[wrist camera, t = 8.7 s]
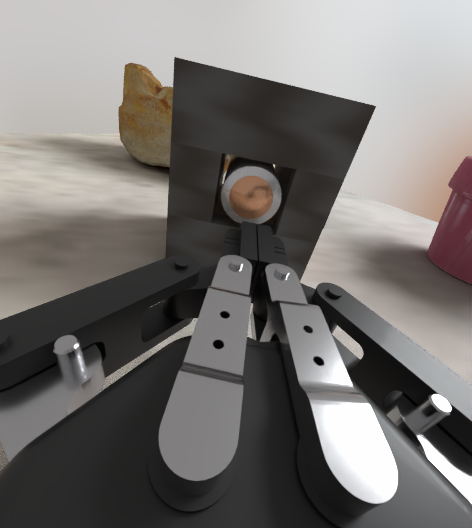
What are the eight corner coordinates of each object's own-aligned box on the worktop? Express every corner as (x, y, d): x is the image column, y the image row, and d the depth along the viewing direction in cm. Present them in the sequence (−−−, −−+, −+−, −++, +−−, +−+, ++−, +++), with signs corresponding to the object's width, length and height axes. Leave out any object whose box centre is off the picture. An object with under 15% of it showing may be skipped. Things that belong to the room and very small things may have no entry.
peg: (265, 189, 28) (276, 147, 26) (272, 230, 20) (289, 174, 17) (226, 181, 28) (233, 137, 25) (216, 219, 20) (226, 160, 17)
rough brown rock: (264, 183, 52) (285, 97, 44) (230, 196, 38) (253, 74, 30) (169, 155, 58) (174, 76, 50) (110, 158, 44) (105, 48, 36)
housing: (283, 236, 31) (330, 100, 23) (296, 289, 23) (375, 106, 15) (187, 218, 31) (201, 69, 22) (165, 265, 22) (174, 57, 14)
